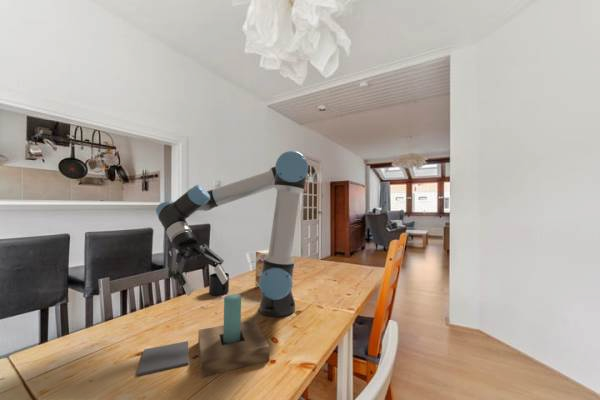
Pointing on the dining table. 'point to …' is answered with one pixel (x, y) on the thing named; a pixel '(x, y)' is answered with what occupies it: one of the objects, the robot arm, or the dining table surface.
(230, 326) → the peg
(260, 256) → the coffeecake box
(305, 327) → the dining table surface
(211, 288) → the mug
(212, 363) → the pocket block
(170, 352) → the mat
